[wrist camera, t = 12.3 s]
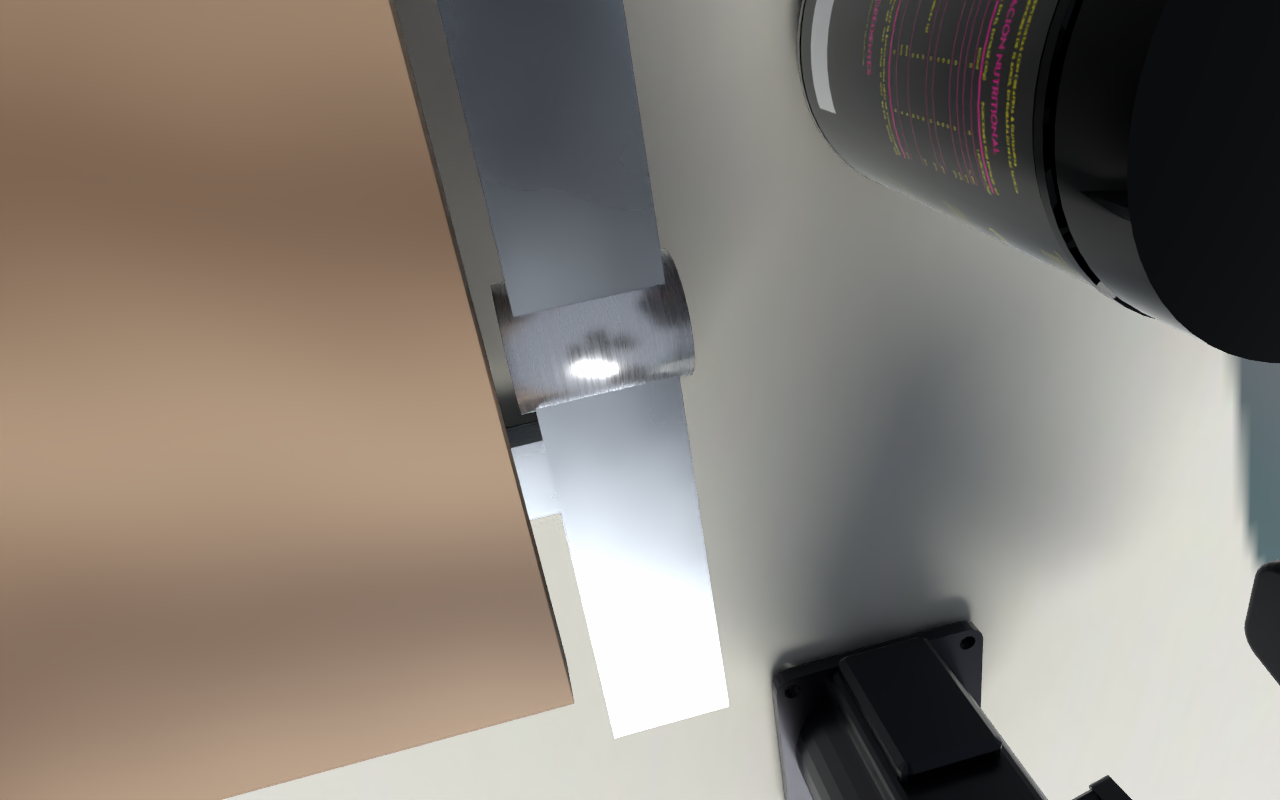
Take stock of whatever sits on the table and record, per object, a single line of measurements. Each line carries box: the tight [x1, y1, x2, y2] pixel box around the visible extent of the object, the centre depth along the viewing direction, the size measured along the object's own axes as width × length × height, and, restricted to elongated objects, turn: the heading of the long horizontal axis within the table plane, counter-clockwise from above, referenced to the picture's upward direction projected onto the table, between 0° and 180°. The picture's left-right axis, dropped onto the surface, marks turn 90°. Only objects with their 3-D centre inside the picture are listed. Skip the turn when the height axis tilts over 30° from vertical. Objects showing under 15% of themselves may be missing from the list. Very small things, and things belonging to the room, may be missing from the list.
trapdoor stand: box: [437, 0, 729, 738], centre depth 13 cm, size 20×16×8 cm
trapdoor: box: [0, 0, 574, 800], centre depth 12 cm, size 18×11×6 cm, turn 9°
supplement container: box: [797, 0, 1280, 363], centre depth 14 cm, size 7×7×10 cm
